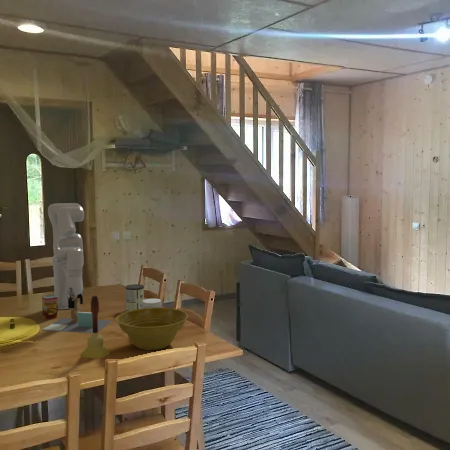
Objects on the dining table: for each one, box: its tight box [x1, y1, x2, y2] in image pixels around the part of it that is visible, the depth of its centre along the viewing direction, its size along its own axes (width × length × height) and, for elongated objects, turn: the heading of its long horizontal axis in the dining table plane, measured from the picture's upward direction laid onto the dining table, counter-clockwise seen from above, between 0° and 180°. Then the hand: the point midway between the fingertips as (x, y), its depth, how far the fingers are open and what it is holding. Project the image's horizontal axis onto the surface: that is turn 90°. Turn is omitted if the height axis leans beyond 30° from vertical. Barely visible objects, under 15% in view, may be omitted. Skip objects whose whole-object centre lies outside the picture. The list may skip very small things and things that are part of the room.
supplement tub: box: [142, 298, 163, 309], centre depth 254 cm, size 10×10×15 cm
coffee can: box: [125, 283, 145, 312], centre depth 289 cm, size 10×10×14 cm
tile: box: [78, 311, 93, 327], centre depth 256 cm, size 8×2×7 cm, turn 81°
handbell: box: [80, 295, 111, 359], centre depth 219 cm, size 12×12×25 cm
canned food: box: [41, 294, 59, 320], centre depth 272 cm, size 8×8×12 cm
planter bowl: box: [115, 307, 189, 351], centre depth 230 cm, size 32×32×13 cm
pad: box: [42, 323, 68, 332], centre depth 253 cm, size 9×9×1 cm
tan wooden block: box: [70, 297, 81, 323], centre depth 264 cm, size 4×4×12 cm
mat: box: [42, 317, 113, 334], centre depth 258 cm, size 28×22×1 cm
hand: (75, 305), depth 263 cm, fingers open, 9 cm apart
